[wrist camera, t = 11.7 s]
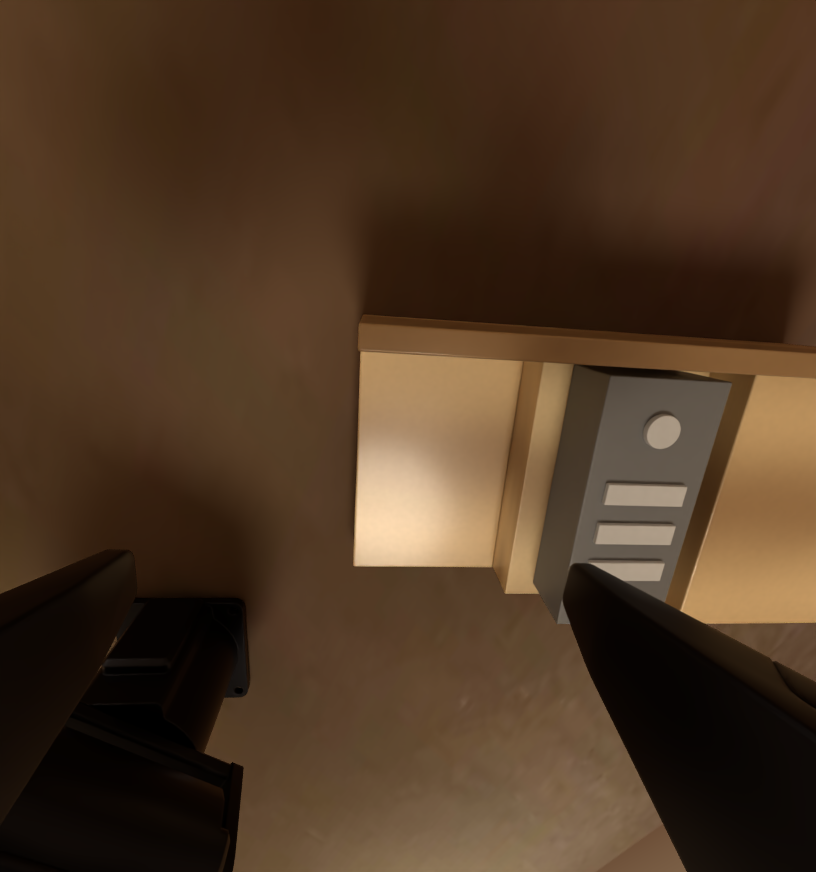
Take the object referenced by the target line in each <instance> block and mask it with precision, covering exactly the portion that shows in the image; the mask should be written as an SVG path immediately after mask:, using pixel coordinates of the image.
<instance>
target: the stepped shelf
mask: <svg viewBox="0 0 816 872" xmlns="http://www.w3.org/2000/svg"><path fill="white" fill-rule="evenodd" d="M358 351H360V378H359V407H358V436H357V466H356V495H355V524H354V553H353V566H378V567H492V566H493V569H494V571H495V573H496V575H497V577H498V579H499V581H500V584H501V586H502V588H503V590H504V592H505V593H506V594H539V592H538V591H537V589H536V587H535V585H534V584H533V579H534V574H535V569H536V564H537V558H538V553H539V548H540V542H541V537H542V532H543V527H544V521H545V516H546V511H547V506H548V500H549V495H550V490H551V484H552V479H553V474H554V469H555V463H556V458H557V453H558V447H559V442H560V437H561V432H562V426H563V421H564V416H565V410H566V405H567V400H568V395H569V389H570V384H571V379H572V374H573V368H574V365H575V364H577V365H594V366H611V367H627V368H644V369H661V370H678V371H684V372H688V373H693V374H697V375H702V376H706V377H711V378H715V379H719V380H724V381H728V382H731V383H732V386H731V389H730V392H729V395H728V399H727V402H726V405H725V408H724V412H723V415H722V418H721V421H720V425H719V428H718V431H717V434H716V438H715V441H714V444H713V447H712V451H711V454H710V457H709V460H708V464H707V467H706V470H705V473H704V477H703V480H702V483H701V486H700V490H699V493H698V496H697V499H696V503H695V506H694V509H693V512H692V516H691V519H690V522H689V525H688V529H687V532H686V535H685V538H684V542H683V545H682V548H681V551H680V555H679V558H678V561H677V564H676V568H675V571H674V574H673V577H672V581H671V584H670V587H669V590H668V594H667V597H666V600H665V603H667V604H668V605H670V606H672V607H674V608H676V609H678V610H680V611H682V612H684V613H685V614H687V615H689V616H691V617H693V618H695V619H697V620H699V621H701V622H703V623H704V624H723V623H816V347H814V346H804V345H794V344H785V343H771V342H756V341H742V340H727V339H713V338H698V337H684V336H669V335H655V334H640V333H626V332H611V331H597V330H582V329H568V328H554V327H539V326H525V325H510V324H496V323H481V322H467V321H452V320H438V319H423V318H409V317H394V316H380V315H365V314H364V315H363V316H362V318H361V320H360V323H359V325H358Z"/></svg>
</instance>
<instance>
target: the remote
mask: <svg viewBox="0 0 816 872" xmlns="http://www.w3.org/2000/svg"><path fill="white" fill-rule="evenodd" d="M731 386H732V383H731V382H728V381H724V380H719V379H715V378H711V377H706V376H702V375H697V374H693V373H688V372H684V371H678V370H661V369H644V368H627V367H611V366H594V365H577V364H575V365H574V368H573V374H572V379H571V384H570V389H569V395H568V400H567V405H566V410H565V416H564V421H563V426H562V432H561V437H560V442H559V447H558V453H557V458H556V463H555V469H554V474H553V479H552V484H551V490H550V495H549V500H548V506H547V511H546V516H545V521H544V527H543V532H542V537H541V542H540V548H539V553H538V558H537V564H536V569H535V574H534V579H533V584H534V585H535V587H536V589H537V591H538V592H539V594H540V596H541V597H542V599H543V601H544V603H545V604H546V606H547V608H548V610H549V611H550V613H551V615H552V616H553V618H554V620H555V622H556V623H557V624H570V622H569V619H568V617H567V614H566V611H565V609H564V606H563V600H562V596H563V590H564V586H565V582H566V578H567V574H568V570H569V567H570V566H571V565H572V564H573V563H589V564H593V565H595V566H597V567H598V568H600V569H602V570H604V571H606V572H608V573H610V574H612V575H614V576H615V577H617V578H619V579H621V580H623V581H625V582H627V583H629V584H631V585H632V586H634V587H636V588H638V589H640V590H642V591H644V592H646V593H648V594H650V595H651V596H653V597H655V598H657V599H659V600H661V601H663V602H665V600H666V597H667V594H668V590H669V587H670V584H671V581H672V577H673V574H674V571H675V568H676V564H677V561H678V558H679V555H680V551H681V548H682V545H683V542H684V538H685V535H686V532H687V529H688V525H689V522H690V519H691V516H692V512H693V509H694V506H695V503H696V499H697V496H698V493H699V490H700V486H701V483H702V480H703V477H704V473H705V470H706V467H707V464H708V460H709V457H710V454H711V451H712V447H713V444H714V441H715V438H716V434H717V431H718V428H719V425H720V421H721V418H722V415H723V412H724V408H725V405H726V402H727V399H728V395H729V392H730V389H731Z"/></svg>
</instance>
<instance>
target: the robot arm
mask: <svg viewBox="0 0 816 872" xmlns="http://www.w3.org/2000/svg"><path fill="white" fill-rule="evenodd" d="M136 593H137V579H136V570H135V561H134V555H133V553H132V552H131V551H129V550H113V549H109V550H105V551H102V552H100V553H98V554H95V555H93V556H90V557H88V558H86V559H83V560H81V561H78V562H76V563H74V564H71V565H69V566H66V567H64V568H62V569H59V570H57V571H54V572H52V573H50V574H47V575H45V576H42V577H40V578H38V579H35V580H33V581H30V582H28V583H26V584H23V585H21V586H18V587H16V588H14V589H11V590H9V591H6V592H4V593H2V594H0V872H232V871H233V866H234V860H235V852H236V841H237V831H238V821H239V810H240V800H241V790H242V779H243V769H244V768H243V766H240V765H238V764H235V763H233V762H232V763H231V764H229V763H226V762H224V761H221V760H219V759H217V758H214V757H212V756H209V755H207V754H205V753H204V752H205V749H206V746H207V743H208V741H209V738H210V735H211V732H212V730H213V727H214V724H215V721H216V719H217V716H218V713H219V710H220V708H221V705H222V702H223V699H224V698H229V697H243V696H245V695H246V694H247V692H248V689H249V685H250V682H249V665H248V648H247V631H246V614H245V604H244V602H243V601H242V600H240V599H238V598H135V596H136ZM562 600H563V606H564V609H565V611H566V614H567V617H568V619H569V622H570V625H571V627H572V630H573V633H574V635H575V638H576V640H577V643H578V646H579V648H580V651H581V654H582V656H583V659H584V662H585V664H586V666H587V669H588V671H589V674H590V676H591V678H592V680H593V682H594V684H595V686H596V688H597V691H598V693H599V695H600V697H601V699H602V701H603V703H604V705H605V707H606V709H607V711H608V713H609V715H610V717H611V719H612V721H613V723H614V725H615V727H616V729H617V731H618V733H619V735H620V737H621V739H622V741H623V743H624V745H625V747H626V749H627V751H628V753H629V755H630V758H631V760H632V762H633V764H634V766H635V768H636V770H637V772H638V774H639V776H640V778H641V780H642V782H643V784H644V786H645V788H646V790H647V792H648V794H649V796H650V798H651V800H652V802H653V804H654V806H655V808H656V810H657V812H658V814H659V816H660V818H661V820H662V823H663V824H664V826H665V829H666V830H667V833H668V835H669V837H670V839H671V841H672V843H673V845H674V847H675V849H676V851H677V853H678V855H679V857H680V859H681V861H682V863H683V865H684V867H685V869H686V871H687V872H816V682H815V681H813V680H811V679H809V678H807V677H805V676H803V675H801V674H799V673H797V672H795V671H794V670H792V669H790V668H788V667H786V666H784V665H782V664H780V663H778V662H776V661H773V662H772V660H771V659H770V658H769V657H767V656H765V655H763V654H761V653H759V652H757V651H756V650H754V649H752V648H750V647H748V646H746V645H744V644H742V643H740V642H738V641H737V640H735V639H733V638H731V637H729V636H727V635H725V634H723V633H721V632H720V631H718V630H716V629H714V628H712V627H710V626H708V625H706V624H704V623H703V622H701V621H699V620H697V619H695V618H693V617H691V616H689V615H687V614H685V613H684V612H682V611H680V610H678V609H676V608H674V607H672V606H670V605H668V604H667V603H665V602H663V601H661V600H659V599H657V598H655V597H653V596H651V595H650V594H648V593H646V592H644V591H642V590H640V589H638V588H636V587H634V586H632V585H631V584H629V583H627V582H625V581H623V580H621V579H619V578H617V577H615V576H614V575H612V574H610V573H608V572H606V571H604V570H602V569H600V568H598V567H597V566H595V565H593V564H589V563H573V564H572V565H571V566H570V567H569V570H568V574H567V578H566V582H565V586H564V590H563V596H562ZM231 607H235V608H237V610H234V609H232V608H231ZM116 636H117V642H116V644H115V645H114V647H113V648H112V649H111V651H110V652H109V653H108V651H109V649H110V647H111V645H112V643H113V641H114V639H115V637H116ZM107 653H108V655H107ZM106 655H107V656H106ZM101 665H102V667H101V668H100V666H101ZM99 668H100V670H99ZM98 670H99V671H98ZM239 687H241V688H239Z"/></svg>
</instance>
